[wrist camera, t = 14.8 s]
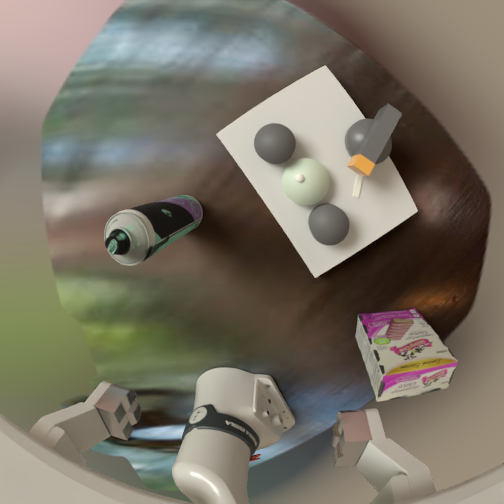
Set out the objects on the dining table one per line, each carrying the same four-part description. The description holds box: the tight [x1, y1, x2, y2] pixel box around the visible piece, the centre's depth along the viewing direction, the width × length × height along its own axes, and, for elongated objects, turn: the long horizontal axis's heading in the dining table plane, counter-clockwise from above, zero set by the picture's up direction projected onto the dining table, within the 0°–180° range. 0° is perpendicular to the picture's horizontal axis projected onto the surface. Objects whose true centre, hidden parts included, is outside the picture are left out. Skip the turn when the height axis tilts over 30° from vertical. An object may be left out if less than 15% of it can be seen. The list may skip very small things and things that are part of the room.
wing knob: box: [345, 104, 402, 176], centre depth 30 cm, size 9×6×6 cm, turn 151°
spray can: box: [104, 195, 203, 266], centre depth 32 cm, size 6×6×20 cm
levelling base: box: [216, 66, 418, 278], centre depth 35 cm, size 24×18×6 cm
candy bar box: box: [355, 308, 458, 402], centre depth 35 cm, size 11×5×16 cm, turn 95°
